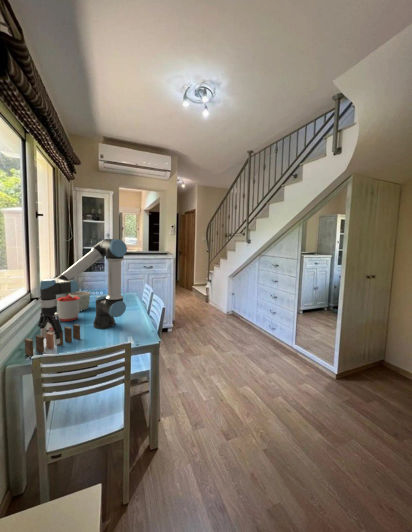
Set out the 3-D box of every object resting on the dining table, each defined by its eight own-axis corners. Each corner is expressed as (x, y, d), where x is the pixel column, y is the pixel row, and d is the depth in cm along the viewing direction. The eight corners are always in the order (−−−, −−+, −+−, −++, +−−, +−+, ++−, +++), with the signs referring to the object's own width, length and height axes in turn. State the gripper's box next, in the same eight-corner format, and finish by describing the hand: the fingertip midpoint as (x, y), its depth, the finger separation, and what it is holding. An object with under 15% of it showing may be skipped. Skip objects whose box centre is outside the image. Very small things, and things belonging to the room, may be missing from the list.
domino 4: (58, 343, 150) (58, 329, 149) (63, 345, 147) (62, 330, 146) (55, 344, 148) (55, 329, 147) (60, 346, 146) (60, 331, 145)
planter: (69, 308, 220) (69, 291, 219) (90, 306, 227) (90, 290, 226) (67, 313, 205) (67, 296, 203) (90, 312, 212) (89, 294, 211)
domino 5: (67, 340, 155) (66, 326, 154) (72, 341, 152) (71, 328, 151) (64, 340, 153) (64, 327, 152) (69, 342, 151) (69, 328, 150)
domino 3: (49, 346, 145) (48, 331, 144) (54, 348, 143) (53, 333, 142) (46, 347, 143) (45, 332, 142) (51, 349, 141) (50, 334, 140)
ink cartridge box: (59, 329, 172) (59, 308, 170) (53, 331, 167) (52, 310, 165) (51, 327, 175) (50, 307, 173) (44, 329, 170) (43, 308, 168)
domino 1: (28, 353, 135) (27, 338, 134) (33, 356, 133) (32, 340, 132) (25, 354, 134) (24, 339, 133) (30, 357, 131) (29, 341, 130)
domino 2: (39, 349, 140) (38, 334, 139) (44, 352, 138) (43, 336, 137) (36, 351, 139) (35, 335, 138) (41, 353, 136) (40, 337, 135)
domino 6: (75, 337, 159) (75, 323, 158) (80, 338, 157) (79, 325, 156) (73, 338, 158) (72, 324, 157) (77, 339, 156) (77, 326, 155)
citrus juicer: (81, 315, 203) (81, 291, 201) (77, 322, 187) (77, 296, 185) (60, 316, 198) (60, 292, 196) (54, 323, 182) (53, 297, 180)
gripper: (30, 304, 143) (31, 338, 145) (55, 311, 131) (56, 349, 134) (43, 301, 149) (45, 334, 152) (68, 308, 138) (69, 343, 140)
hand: (50, 341), depth 143 cm, fingers open, 13 cm apart
